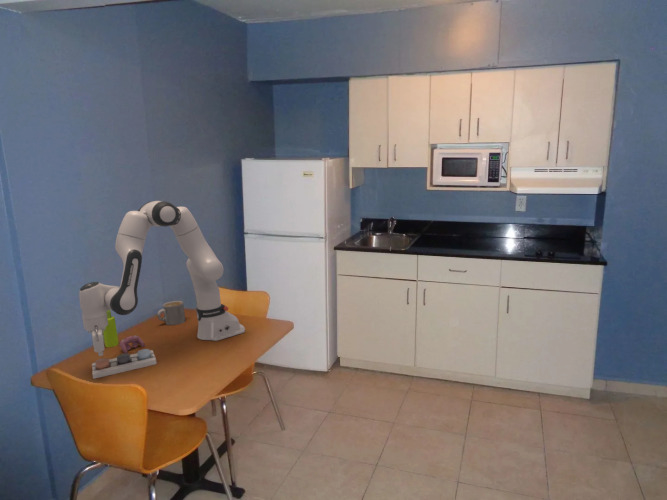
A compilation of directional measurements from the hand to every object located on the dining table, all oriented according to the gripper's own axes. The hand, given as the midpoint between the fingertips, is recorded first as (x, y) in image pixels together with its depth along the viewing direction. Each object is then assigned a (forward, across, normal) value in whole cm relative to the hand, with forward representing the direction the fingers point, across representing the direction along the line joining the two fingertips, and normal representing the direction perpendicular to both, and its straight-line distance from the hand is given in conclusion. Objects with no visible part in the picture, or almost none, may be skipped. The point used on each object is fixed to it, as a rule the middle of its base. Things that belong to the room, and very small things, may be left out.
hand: (100, 354), depth 197 cm
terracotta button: (+6, 0, 0) cm, 6 cm away
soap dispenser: (+7, +30, -4) cm, 31 cm away
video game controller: (+7, +18, -13) cm, 23 cm away
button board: (+7, 0, -8) cm, 11 cm away
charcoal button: (+6, 0, -8) cm, 10 cm away
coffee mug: (+7, +45, -34) cm, 57 cm away
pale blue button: (+5, 0, -16) cm, 17 cm away
